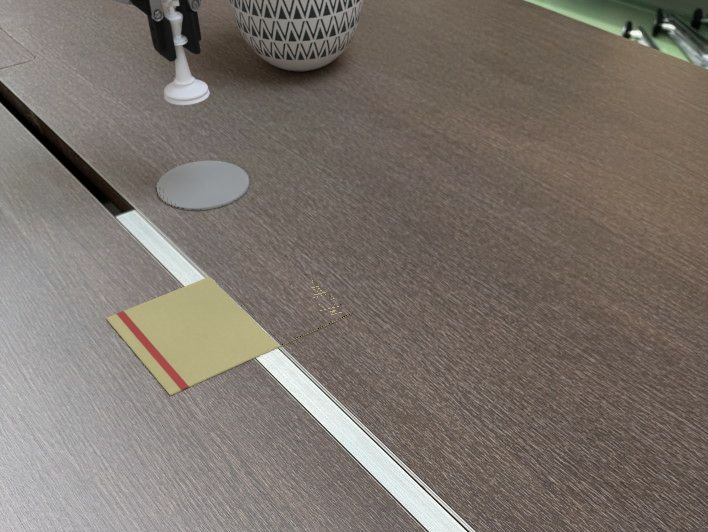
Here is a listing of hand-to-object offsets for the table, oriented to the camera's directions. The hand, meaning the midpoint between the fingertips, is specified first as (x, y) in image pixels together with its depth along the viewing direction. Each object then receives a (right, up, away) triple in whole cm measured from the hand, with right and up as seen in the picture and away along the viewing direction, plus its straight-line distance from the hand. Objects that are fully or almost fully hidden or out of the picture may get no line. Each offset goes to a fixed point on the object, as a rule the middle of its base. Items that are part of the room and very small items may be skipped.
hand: (179, 52), depth 89 cm
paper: (+6, -29, -5) cm, 30 cm away
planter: (+10, +16, +34) cm, 39 cm away
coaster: (0, -10, +12) cm, 15 cm away
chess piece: (0, -3, +4) cm, 5 cm away
